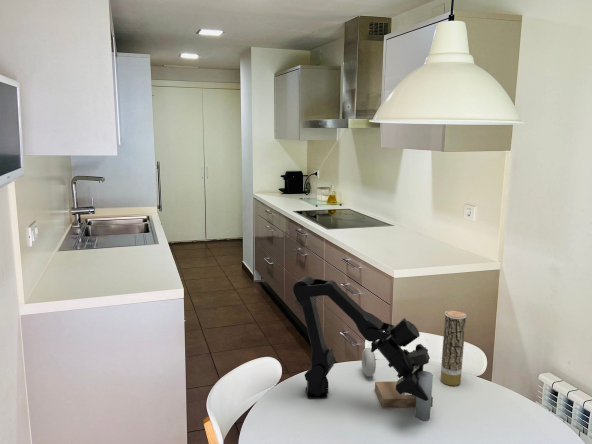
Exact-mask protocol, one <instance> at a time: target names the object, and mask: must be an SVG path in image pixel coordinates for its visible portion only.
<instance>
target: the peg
mask: <svg viewBox="0 0 592 444" xmlns="http://www.w3.org/2000/svg"><path fill="white" fill-rule="evenodd" d="M433 377H434V373H432V372H430V371H427V370H423V371H420V372H418V378H419V384H420V386H421V387H422V389H423V390H424V392H425V393H426V395H427V397H428V398H429V399H428V400H427V401H425V400H422V399H420V398H418V397H416V407H415V410H414V411H415V414H414V416H415V418H416V419H417V420H418V421H423V422H426V421H429V420H430V419H431V411H432V408H431V397H433V395H432V394H433V381H434V380H433V379H434V378H433Z"/></svg>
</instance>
